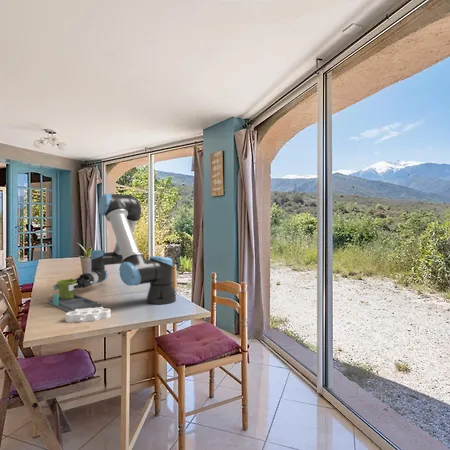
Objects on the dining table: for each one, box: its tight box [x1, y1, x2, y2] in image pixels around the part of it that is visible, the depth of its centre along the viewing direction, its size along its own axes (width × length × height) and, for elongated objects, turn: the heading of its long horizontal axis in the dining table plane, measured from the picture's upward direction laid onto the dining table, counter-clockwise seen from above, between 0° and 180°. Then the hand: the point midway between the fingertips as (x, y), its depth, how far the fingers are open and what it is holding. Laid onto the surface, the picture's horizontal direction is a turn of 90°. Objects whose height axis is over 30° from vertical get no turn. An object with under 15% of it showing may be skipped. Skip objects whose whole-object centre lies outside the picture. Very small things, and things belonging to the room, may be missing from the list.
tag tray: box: [46, 293, 102, 313], centre depth 163 cm, size 27×15×6 cm, turn 49°
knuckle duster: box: [65, 306, 112, 323], centre depth 143 cm, size 3×18×15 cm
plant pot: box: [56, 278, 77, 299], centre depth 168 cm, size 9×9×9 cm
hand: (60, 288), depth 163 cm, fingers closed on plant pot, 8 cm apart
